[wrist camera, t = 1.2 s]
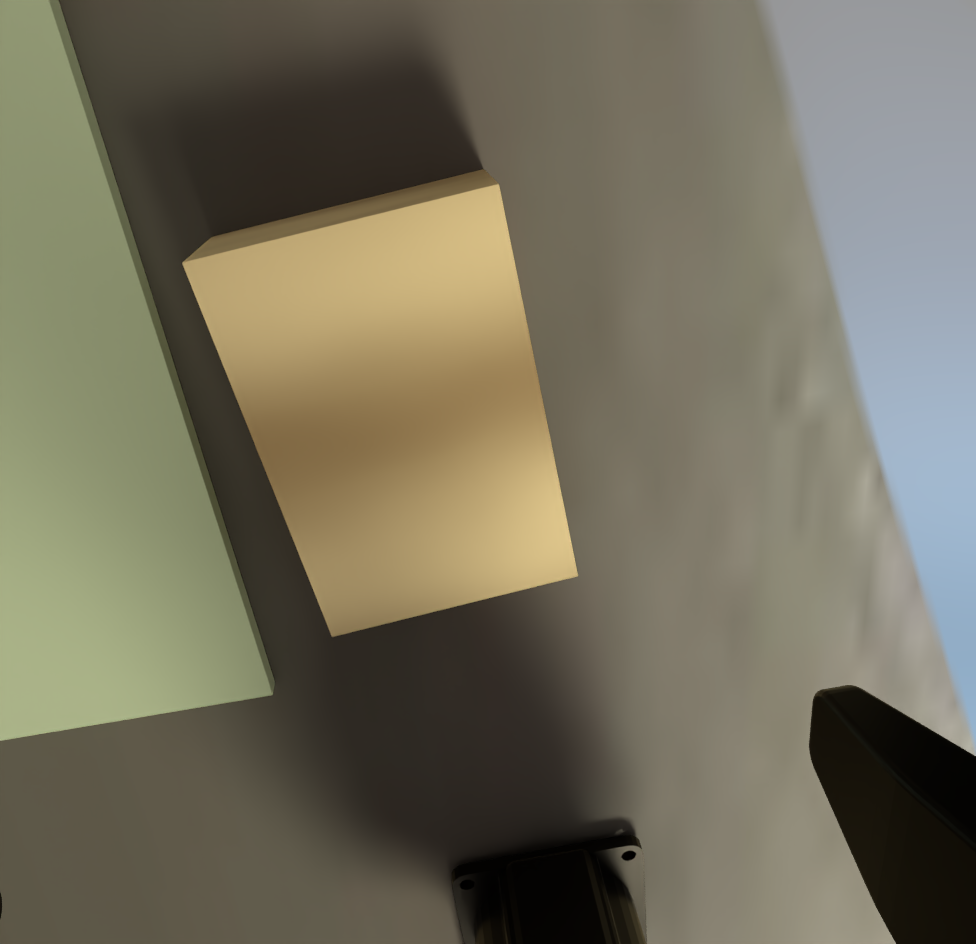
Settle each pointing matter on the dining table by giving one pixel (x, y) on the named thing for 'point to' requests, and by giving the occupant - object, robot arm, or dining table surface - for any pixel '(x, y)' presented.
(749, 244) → the dining table surface
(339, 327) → the brass block
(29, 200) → the rubber mat
